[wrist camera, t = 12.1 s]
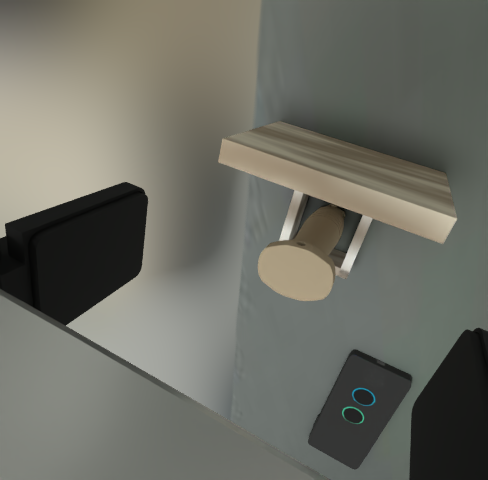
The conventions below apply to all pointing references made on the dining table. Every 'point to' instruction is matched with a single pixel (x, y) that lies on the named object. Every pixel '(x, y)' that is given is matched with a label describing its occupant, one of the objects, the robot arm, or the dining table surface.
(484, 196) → the dining table surface
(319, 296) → the handle
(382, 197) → the wooden wall shelf
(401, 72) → the dining table surface
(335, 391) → the smart home device
